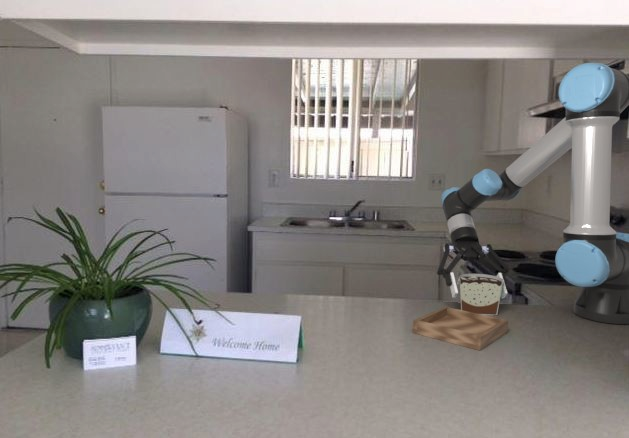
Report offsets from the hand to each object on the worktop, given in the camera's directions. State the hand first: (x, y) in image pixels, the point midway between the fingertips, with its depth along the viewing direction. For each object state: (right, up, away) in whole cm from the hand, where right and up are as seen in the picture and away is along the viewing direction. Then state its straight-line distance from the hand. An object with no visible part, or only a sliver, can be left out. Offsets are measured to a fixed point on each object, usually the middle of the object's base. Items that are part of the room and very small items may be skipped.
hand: (480, 295), depth 135 cm
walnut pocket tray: (-10, -6, -16) cm, 19 cm away
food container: (0, -5, +2) cm, 6 cm away
